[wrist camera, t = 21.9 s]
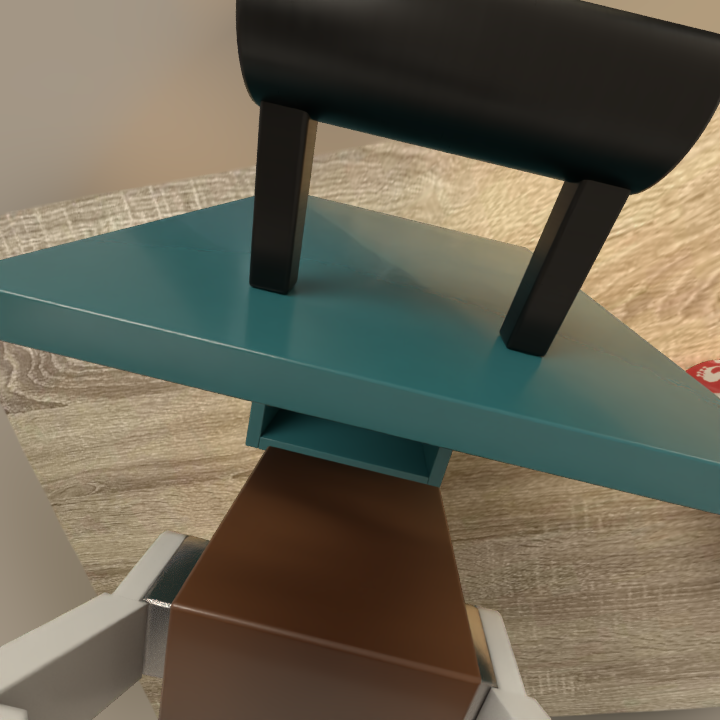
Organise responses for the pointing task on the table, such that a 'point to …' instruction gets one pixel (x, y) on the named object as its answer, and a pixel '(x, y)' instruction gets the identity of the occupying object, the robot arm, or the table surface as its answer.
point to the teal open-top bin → (346, 444)
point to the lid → (419, 244)
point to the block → (323, 603)
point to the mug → (707, 375)
